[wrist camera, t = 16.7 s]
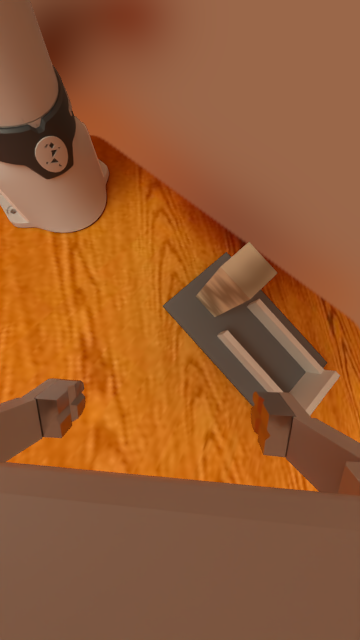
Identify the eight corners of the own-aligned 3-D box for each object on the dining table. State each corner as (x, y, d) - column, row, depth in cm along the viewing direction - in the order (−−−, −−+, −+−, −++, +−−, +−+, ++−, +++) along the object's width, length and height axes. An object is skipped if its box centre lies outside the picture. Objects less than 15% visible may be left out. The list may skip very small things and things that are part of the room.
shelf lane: (162, 306, 32) (165, 297, 27) (225, 253, 36) (238, 236, 30) (272, 428, 32) (297, 444, 26) (324, 362, 35) (356, 365, 30)
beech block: (195, 296, 33) (220, 266, 21) (215, 279, 34) (249, 241, 22) (214, 317, 33) (250, 299, 21) (233, 299, 34) (277, 272, 22)
